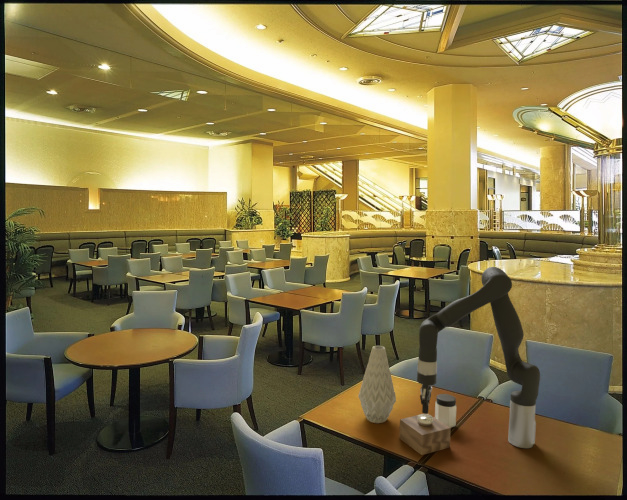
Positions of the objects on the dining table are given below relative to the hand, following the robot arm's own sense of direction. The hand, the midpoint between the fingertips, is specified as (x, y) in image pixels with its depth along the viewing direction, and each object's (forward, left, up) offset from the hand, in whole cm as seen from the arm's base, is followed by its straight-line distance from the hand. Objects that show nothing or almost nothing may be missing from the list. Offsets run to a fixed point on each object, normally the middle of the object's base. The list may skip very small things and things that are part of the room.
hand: (425, 412), depth 177 cm
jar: (-19, -9, -13) cm, 25 cm away
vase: (+6, -25, -13) cm, 29 cm away
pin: (0, 0, -12) cm, 12 cm away
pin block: (0, 0, -13) cm, 13 cm away
